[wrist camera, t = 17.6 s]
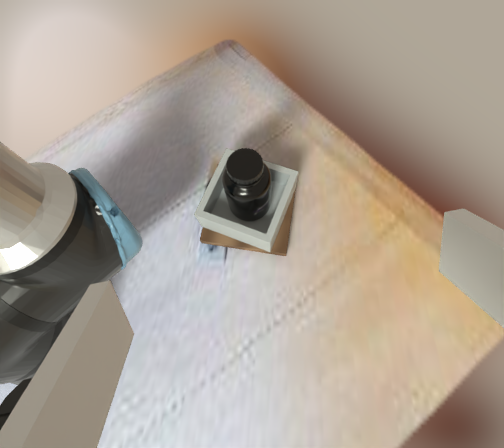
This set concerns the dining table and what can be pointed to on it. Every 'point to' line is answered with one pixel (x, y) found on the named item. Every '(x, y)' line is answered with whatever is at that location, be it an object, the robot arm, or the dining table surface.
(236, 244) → the walnut plinth
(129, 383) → the dining table surface
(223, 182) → the supplement bottle
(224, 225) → the grey square open box
